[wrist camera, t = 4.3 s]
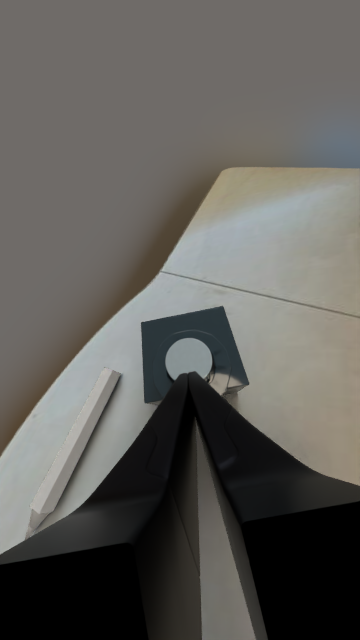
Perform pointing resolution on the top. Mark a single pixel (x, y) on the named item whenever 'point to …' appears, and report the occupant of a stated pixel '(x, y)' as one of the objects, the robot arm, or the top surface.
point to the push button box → (197, 325)
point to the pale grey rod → (71, 450)
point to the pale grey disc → (189, 358)
